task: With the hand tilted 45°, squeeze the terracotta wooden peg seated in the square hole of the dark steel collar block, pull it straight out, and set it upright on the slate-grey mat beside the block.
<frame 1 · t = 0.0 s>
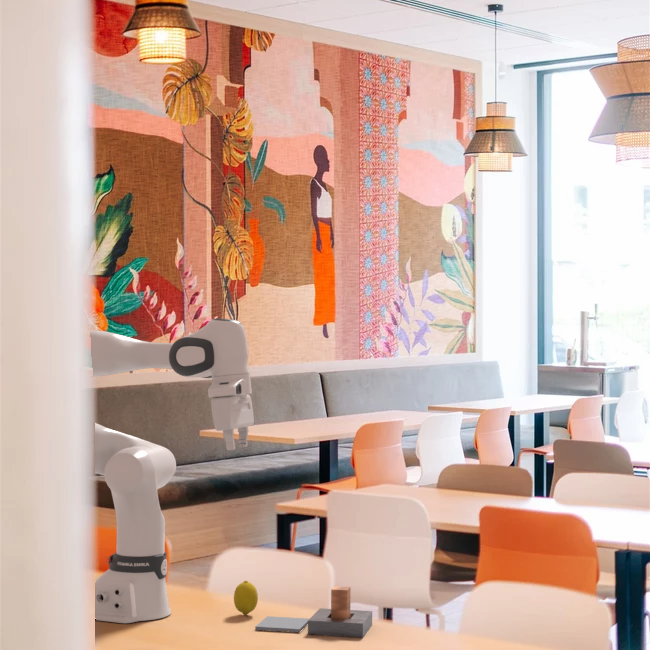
hand: (237, 448, 243), 39 cm above the table, tool pointing down, fingers open, 8 cm apart
mat: (283, 626, 236), on the table
collar block: (340, 629, 233), on the table
peg: (340, 608, 233), in the collar block
lemon: (245, 616, 246), on the table
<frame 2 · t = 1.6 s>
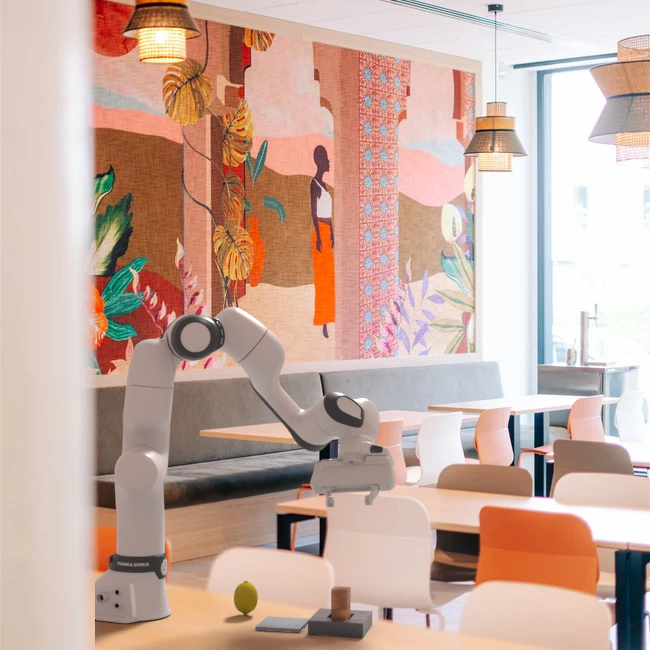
hand: (348, 504, 246), 26 cm above the table, tool tilted 45°, fingers open, 8 cm apart
nothing on the table moved.
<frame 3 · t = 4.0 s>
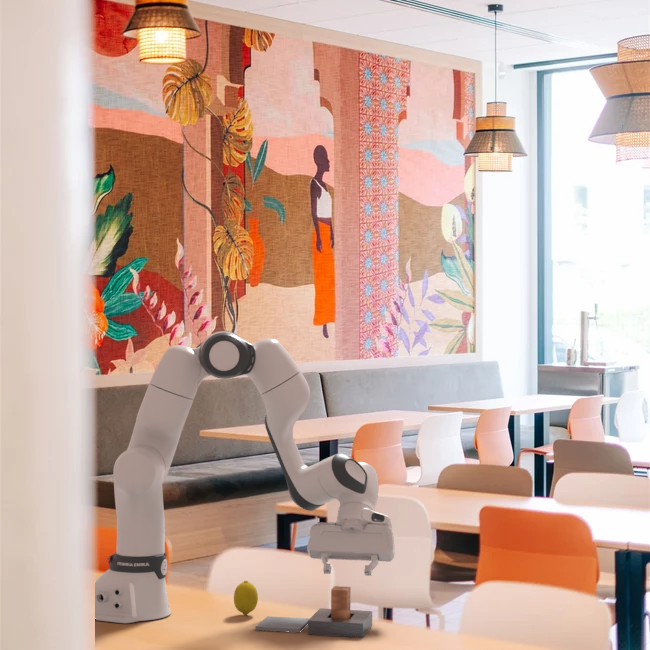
hand: (347, 573, 240), 11 cm above the table, tool tilted 45°, fingers open, 8 cm apart
nothing on the table moved.
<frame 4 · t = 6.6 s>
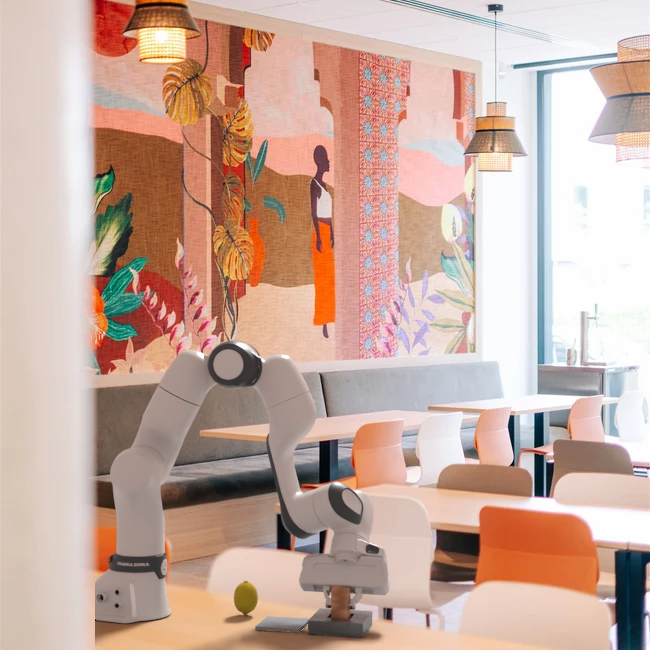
hand: (340, 607, 233), 5 cm above the table, tool tilted 45°, fingers closed on peg, 4 cm apart
peg: (340, 608, 233), in the collar block, touching gripper
everything else where it was.
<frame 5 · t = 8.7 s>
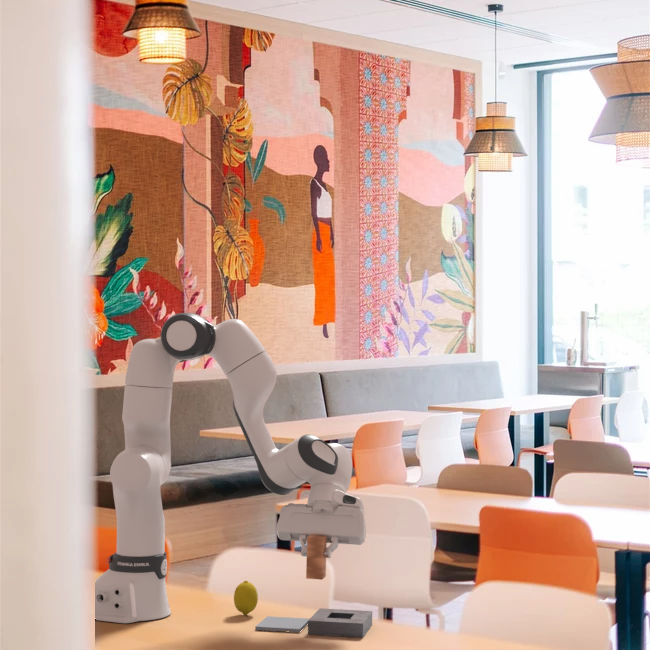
hand: (315, 555, 234), 16 cm above the table, tool tilted 45°, fingers closed on peg, 4 cm apart
peg: (316, 557, 235), point 16 cm above the table, touching gripper
everything else where it was.
when the fingers open (7 cm above the table, at t = 11.3 s): peg drops 1 cm, resting on mat.
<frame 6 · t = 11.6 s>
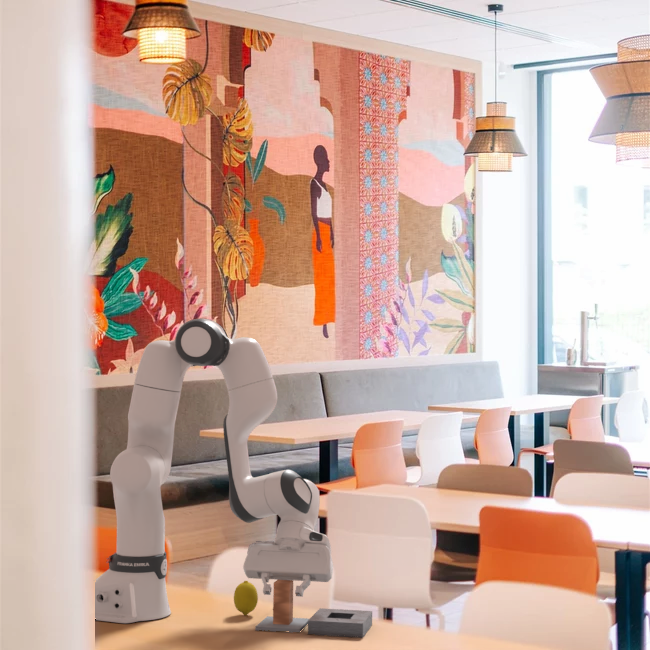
hand: (282, 594, 235), 7 cm above the table, tool tilted 45°, fingers open, 6 cm apart
peg: (283, 602, 236), on the mat, point 5 cm above the table
everything else where it was.
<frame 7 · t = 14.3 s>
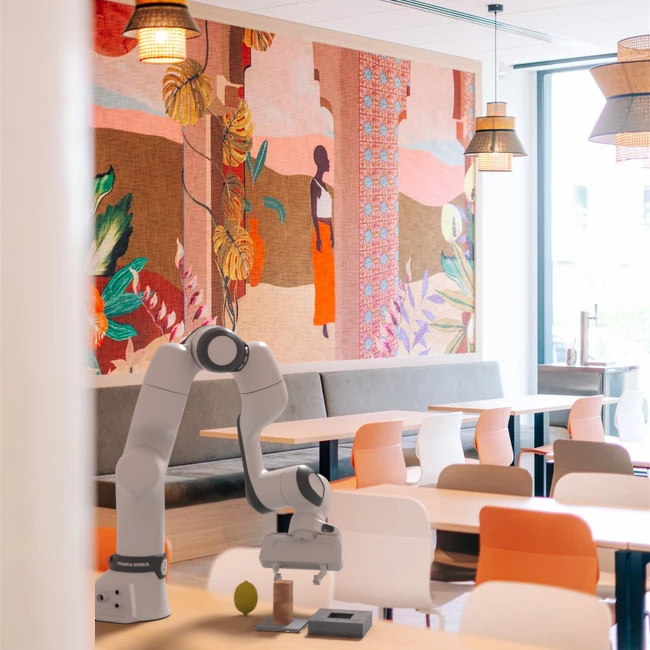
hand: (296, 582, 248), 7 cm above the table, tool tilted 45°, fingers open, 8 cm apart
nothing on the table moved.
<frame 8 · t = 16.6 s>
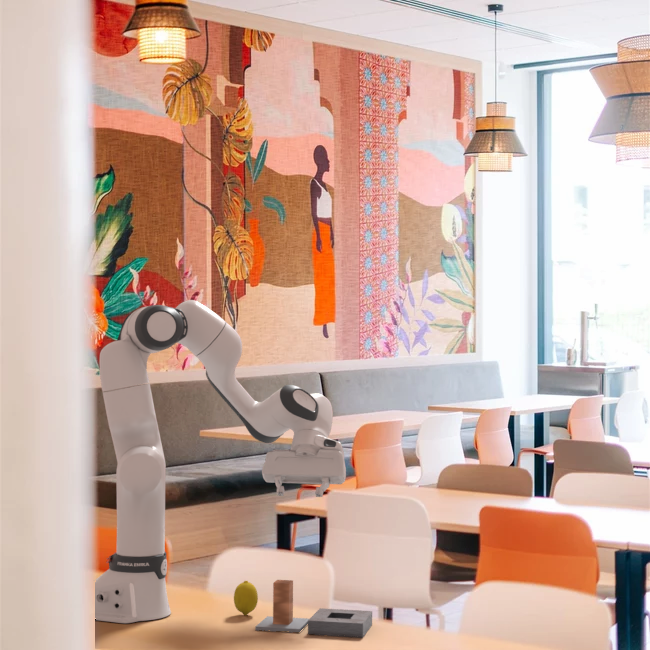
hand: (299, 494, 251), 27 cm above the table, tool tilted 45°, fingers open, 8 cm apart
nothing on the table moved.
at the end: peg inside the target area on the mat (0.1 cm from its centre), point 5.3 cm above the mat's base; peg tilted 0°; the gripper is holding nothing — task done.
